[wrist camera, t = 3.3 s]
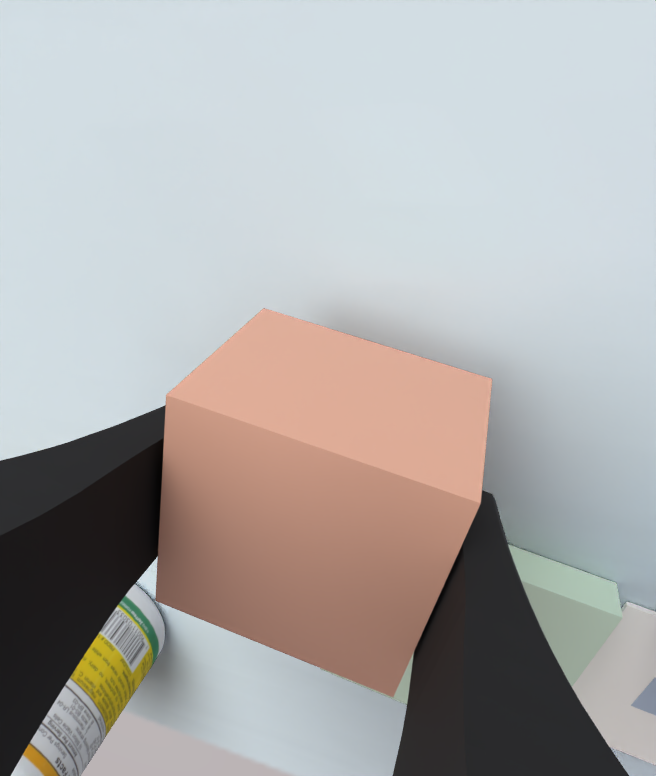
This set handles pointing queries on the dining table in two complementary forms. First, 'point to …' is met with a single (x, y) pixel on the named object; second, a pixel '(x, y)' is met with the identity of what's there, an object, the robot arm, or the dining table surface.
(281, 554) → the terracotta brick
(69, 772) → the supplement bottle
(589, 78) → the dining table surface
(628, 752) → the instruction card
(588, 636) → the plate
